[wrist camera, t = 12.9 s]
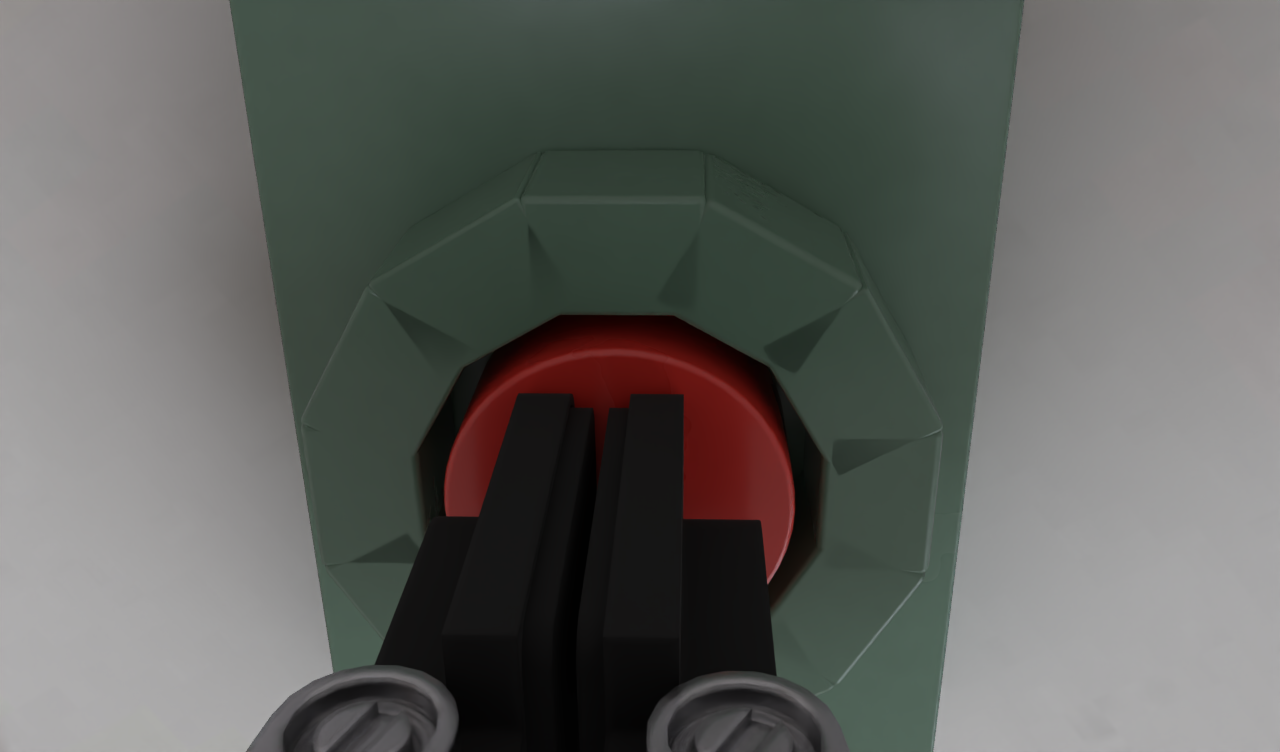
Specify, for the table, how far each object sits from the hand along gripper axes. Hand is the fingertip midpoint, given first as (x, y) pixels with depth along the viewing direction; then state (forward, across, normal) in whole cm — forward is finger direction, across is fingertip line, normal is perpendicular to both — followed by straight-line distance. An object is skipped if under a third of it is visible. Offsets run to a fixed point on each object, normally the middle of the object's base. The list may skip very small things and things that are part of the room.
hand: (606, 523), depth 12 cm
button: (+2, 0, 0) cm, 2 cm away
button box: (+4, 0, 0) cm, 4 cm away
